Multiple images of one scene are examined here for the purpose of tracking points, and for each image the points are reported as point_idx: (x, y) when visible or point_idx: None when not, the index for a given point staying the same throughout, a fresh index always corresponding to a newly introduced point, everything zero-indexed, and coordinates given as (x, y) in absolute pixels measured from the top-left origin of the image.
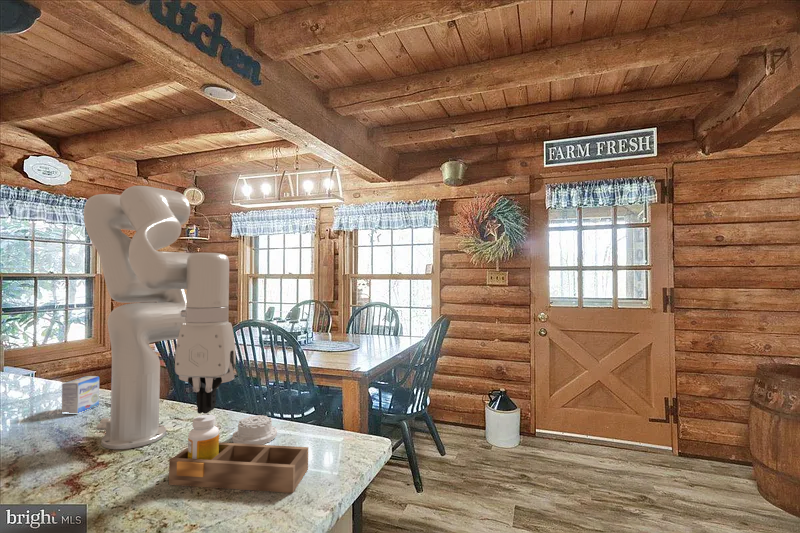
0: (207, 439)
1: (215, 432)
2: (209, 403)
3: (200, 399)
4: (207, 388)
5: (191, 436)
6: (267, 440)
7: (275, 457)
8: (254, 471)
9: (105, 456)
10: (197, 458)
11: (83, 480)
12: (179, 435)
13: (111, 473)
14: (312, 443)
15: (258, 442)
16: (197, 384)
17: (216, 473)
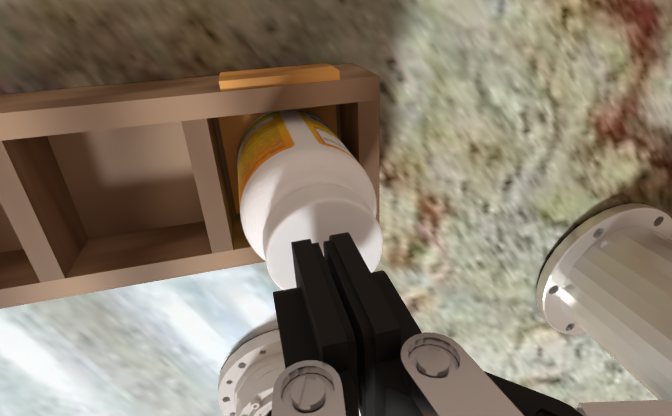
0: (254, 171)
1: (245, 221)
2: (289, 303)
3: (356, 294)
4: (320, 394)
5: (334, 153)
6: (223, 371)
7: (30, 262)
8: None
9: (624, 169)
10: (281, 124)
11: (615, 34)
12: (500, 317)
13: (561, 89)
14: (72, 410)
15: (241, 352)
16: (448, 400)
17: (165, 89)
